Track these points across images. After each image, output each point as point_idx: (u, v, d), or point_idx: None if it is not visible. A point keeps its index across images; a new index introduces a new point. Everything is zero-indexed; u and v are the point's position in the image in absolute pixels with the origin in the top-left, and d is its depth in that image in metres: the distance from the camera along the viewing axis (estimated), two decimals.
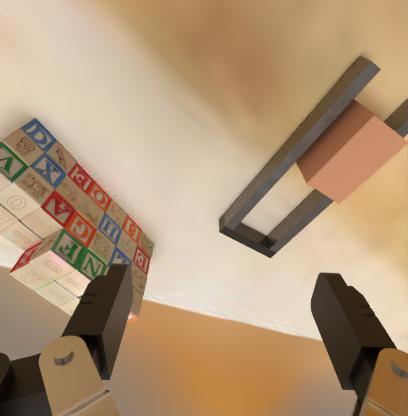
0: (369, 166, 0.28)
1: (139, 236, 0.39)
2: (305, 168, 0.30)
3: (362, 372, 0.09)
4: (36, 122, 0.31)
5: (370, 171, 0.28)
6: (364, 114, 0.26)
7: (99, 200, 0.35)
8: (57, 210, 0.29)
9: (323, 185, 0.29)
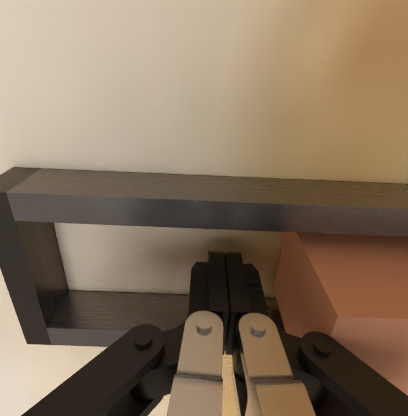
0: None
1: None
2: (330, 270, 0.11)
3: (234, 336, 0.10)
4: None
5: None
6: None
7: None
8: None
9: (348, 349, 0.09)
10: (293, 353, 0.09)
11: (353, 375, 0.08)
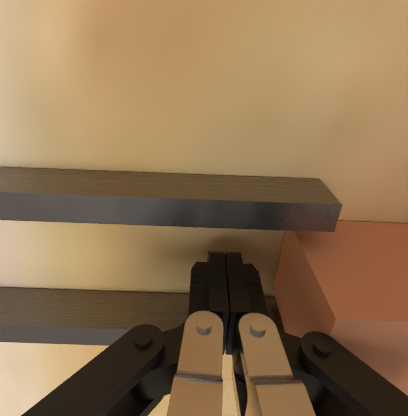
0: None
1: None
2: (329, 272, 0.11)
3: (234, 336, 0.10)
4: None
5: None
6: None
7: None
8: None
9: None
10: (293, 353, 0.09)
11: (353, 375, 0.08)
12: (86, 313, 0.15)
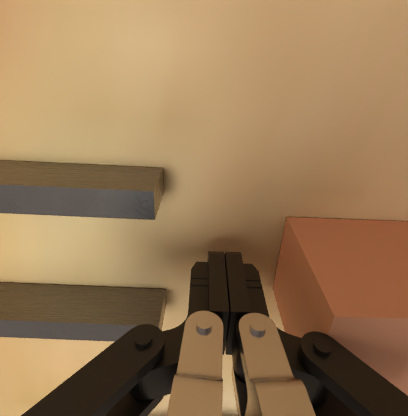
0: None
1: None
2: (328, 270, 0.11)
3: (234, 336, 0.10)
4: None
5: None
6: None
7: None
8: None
9: None
10: (293, 353, 0.09)
11: (353, 375, 0.08)
12: None
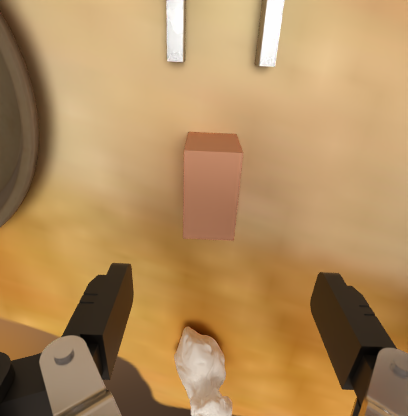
0: (195, 204, 0.25)
1: None
2: None
3: (361, 372, 0.09)
4: None
5: (188, 200, 0.24)
6: None
7: None
8: None
9: (223, 161, 0.23)
10: None
11: None
12: None
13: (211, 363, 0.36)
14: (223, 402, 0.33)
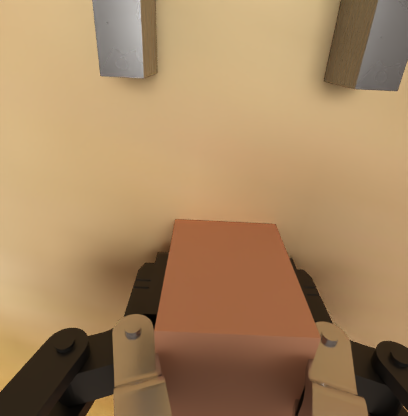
0: None
1: None
2: None
3: None
4: None
5: None
6: None
7: None
8: None
9: (263, 353, 0.08)
10: (367, 363, 0.09)
11: None
12: None
13: None
14: None
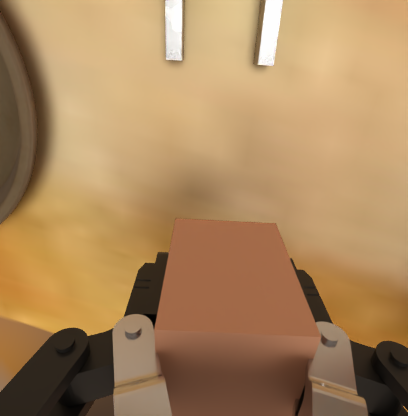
0: None
1: None
2: None
3: None
4: None
5: None
6: None
7: None
8: None
9: (263, 352, 0.08)
10: (367, 363, 0.09)
11: None
12: None
13: None
14: None
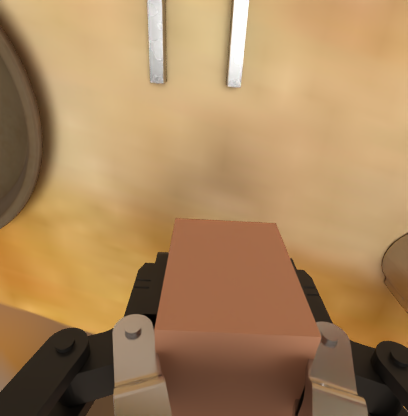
0: None
1: None
2: None
3: None
4: None
5: None
6: None
7: None
8: None
9: (263, 352, 0.08)
10: (367, 363, 0.09)
11: None
12: None
13: None
14: None
